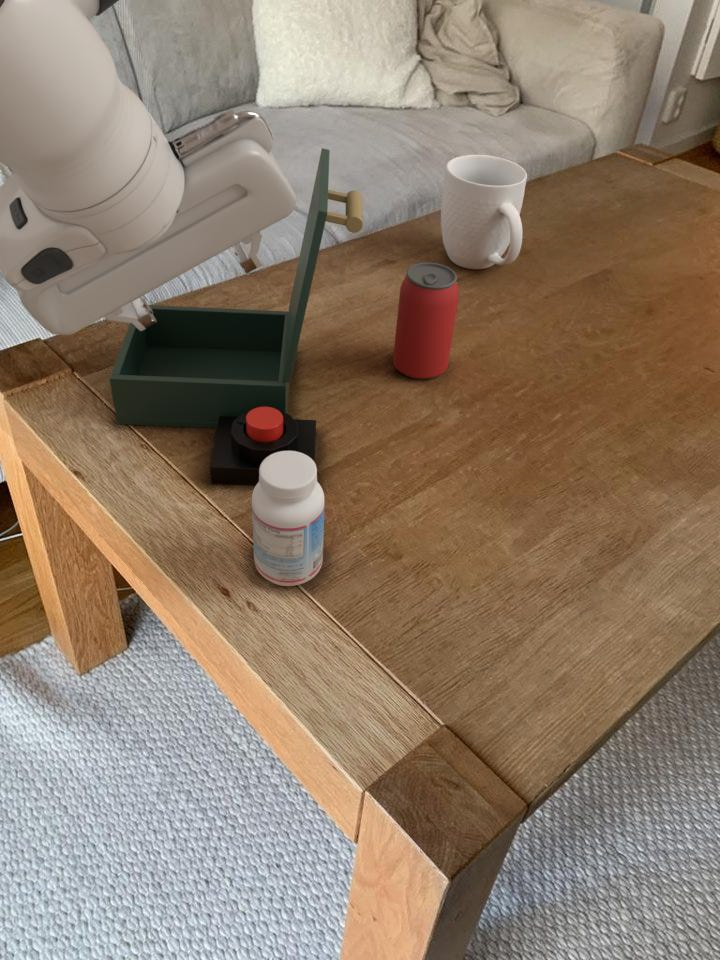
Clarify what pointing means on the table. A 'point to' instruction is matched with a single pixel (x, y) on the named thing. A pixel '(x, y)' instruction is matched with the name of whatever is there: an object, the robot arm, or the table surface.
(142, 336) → the box
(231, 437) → the control block
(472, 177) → the mug
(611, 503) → the table surface
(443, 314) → the beer can
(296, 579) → the pill bottle
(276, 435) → the button
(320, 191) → the box lid
